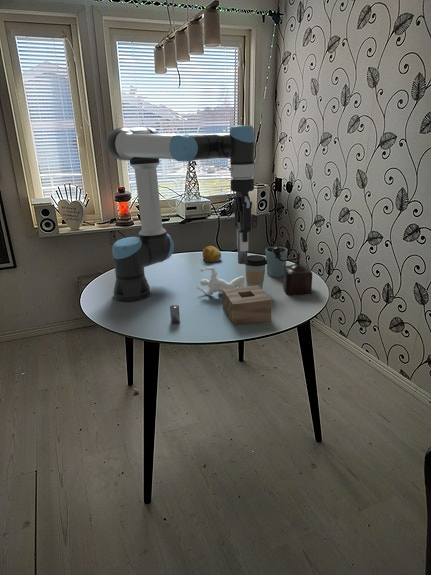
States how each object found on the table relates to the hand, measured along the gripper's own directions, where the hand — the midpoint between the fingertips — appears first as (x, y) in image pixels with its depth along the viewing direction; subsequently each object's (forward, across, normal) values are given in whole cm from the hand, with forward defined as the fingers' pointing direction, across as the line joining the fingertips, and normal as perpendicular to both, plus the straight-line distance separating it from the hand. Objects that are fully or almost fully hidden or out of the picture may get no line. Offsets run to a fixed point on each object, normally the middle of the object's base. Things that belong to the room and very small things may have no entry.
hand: (242, 249), depth 129 cm
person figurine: (+25, -19, -3) cm, 32 cm away
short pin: (+25, -1, -25) cm, 35 cm away
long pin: (+5, 0, 0) cm, 5 cm away
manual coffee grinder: (+25, -18, +26) cm, 41 cm away
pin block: (+25, -1, +1) cm, 25 cm away
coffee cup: (+25, -20, +11) cm, 34 cm away
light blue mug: (+25, -38, +27) cm, 53 cm away
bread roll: (+25, -69, +3) cm, 73 cm away
